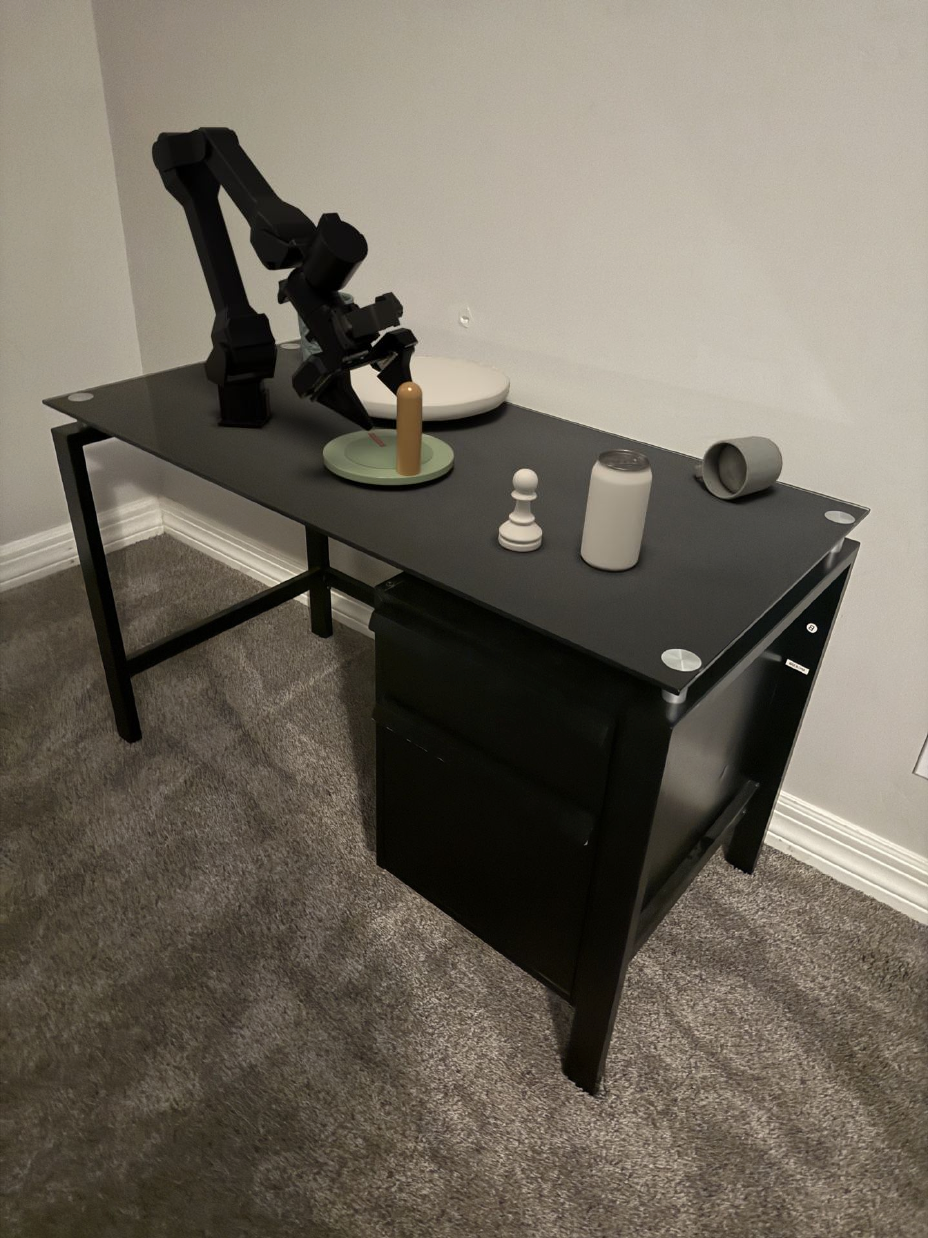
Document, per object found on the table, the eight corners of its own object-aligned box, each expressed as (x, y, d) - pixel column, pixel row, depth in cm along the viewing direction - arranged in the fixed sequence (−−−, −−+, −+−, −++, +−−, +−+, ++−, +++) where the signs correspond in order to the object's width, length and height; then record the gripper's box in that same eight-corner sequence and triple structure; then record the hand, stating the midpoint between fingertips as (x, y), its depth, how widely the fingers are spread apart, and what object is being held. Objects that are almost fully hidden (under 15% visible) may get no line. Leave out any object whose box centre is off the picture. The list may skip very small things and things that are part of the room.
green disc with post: (306, 443, 121) (302, 352, 115) (423, 430, 128) (425, 343, 122) (348, 492, 108) (345, 393, 101) (475, 474, 115) (481, 380, 108)
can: (575, 545, 101) (588, 447, 95) (629, 545, 102) (646, 448, 95) (586, 572, 96) (600, 470, 89) (643, 573, 96) (662, 471, 90)
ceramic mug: (780, 495, 116) (793, 440, 112) (740, 508, 112) (753, 451, 108) (718, 469, 124) (728, 416, 120) (678, 480, 119) (688, 426, 115)
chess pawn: (539, 533, 103) (547, 462, 99) (542, 553, 99) (550, 480, 94) (497, 531, 103) (503, 460, 98) (498, 551, 99) (504, 477, 94)
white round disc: (312, 394, 128) (351, 347, 150) (319, 436, 131) (355, 385, 154) (503, 389, 125) (513, 342, 147) (504, 433, 128) (514, 380, 151)
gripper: (305, 282, 96) (384, 403, 97) (407, 260, 109) (476, 367, 110) (258, 341, 103) (332, 452, 104) (359, 314, 117) (423, 413, 118)
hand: (394, 419), depth 109 cm, fingers open, 9 cm apart
